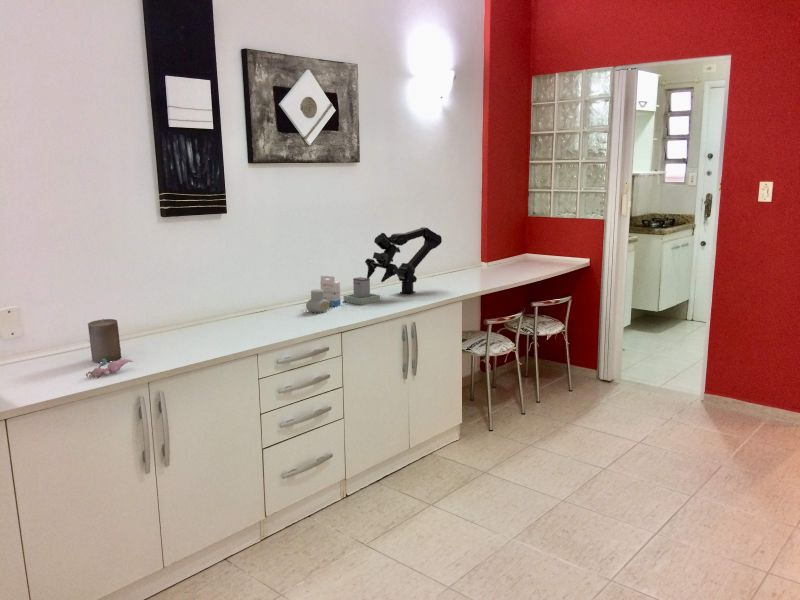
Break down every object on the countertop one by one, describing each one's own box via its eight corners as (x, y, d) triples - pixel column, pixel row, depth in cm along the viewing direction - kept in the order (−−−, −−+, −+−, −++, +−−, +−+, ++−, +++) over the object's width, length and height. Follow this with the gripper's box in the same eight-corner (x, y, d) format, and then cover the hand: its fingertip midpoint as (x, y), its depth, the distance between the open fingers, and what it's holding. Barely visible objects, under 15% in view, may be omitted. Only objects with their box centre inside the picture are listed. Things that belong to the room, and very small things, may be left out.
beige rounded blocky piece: (317, 314, 304) (316, 293, 302) (303, 312, 309) (302, 291, 307) (332, 310, 313) (331, 289, 311) (318, 308, 318) (317, 287, 316)
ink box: (341, 305, 325) (340, 275, 322) (335, 307, 320) (334, 276, 317) (326, 303, 329) (325, 274, 326) (320, 305, 324) (319, 275, 321)
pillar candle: (124, 354, 242) (120, 314, 239) (117, 362, 233) (113, 320, 230) (96, 356, 241) (91, 316, 238) (88, 364, 232) (83, 322, 229)
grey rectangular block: (361, 298, 337) (360, 277, 335) (370, 300, 332) (369, 278, 330) (352, 300, 333) (351, 278, 330) (360, 302, 328) (360, 280, 326)
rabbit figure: (93, 384, 214) (137, 367, 224) (88, 367, 212) (133, 351, 222) (85, 380, 219) (129, 363, 228) (80, 363, 217) (125, 347, 226)
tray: (362, 297, 342) (362, 291, 341) (380, 301, 333) (380, 295, 332) (343, 301, 333) (343, 295, 332) (360, 305, 324) (360, 299, 323)
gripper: (367, 243, 340) (353, 268, 335) (396, 249, 330) (382, 275, 325) (376, 255, 349) (363, 279, 344) (405, 261, 338) (391, 287, 333)
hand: (374, 280), depth 336 cm, fingers open, 9 cm apart
